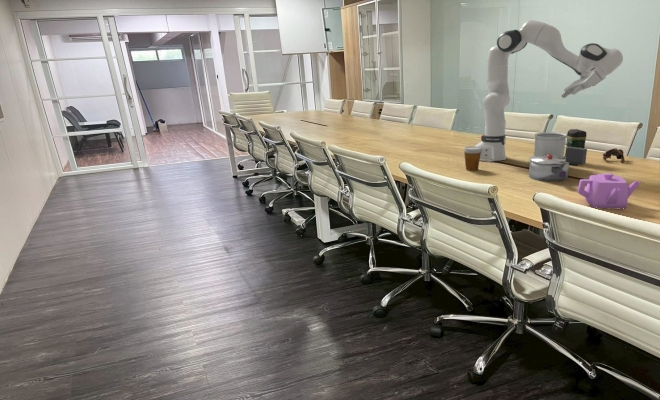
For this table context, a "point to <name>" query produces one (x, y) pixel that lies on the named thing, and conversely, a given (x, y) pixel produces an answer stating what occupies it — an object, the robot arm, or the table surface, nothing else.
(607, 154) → the brown arched piece
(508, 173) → the table surface
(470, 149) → the disposable coffee cup
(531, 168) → the pot
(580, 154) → the lid
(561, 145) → the utensil holder
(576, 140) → the coffee jar
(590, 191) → the teakettle
